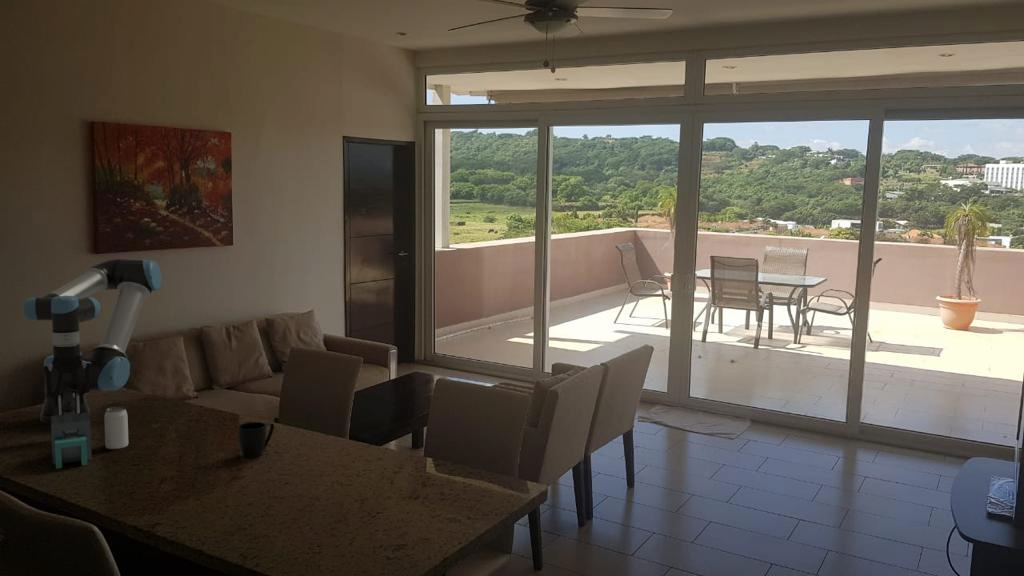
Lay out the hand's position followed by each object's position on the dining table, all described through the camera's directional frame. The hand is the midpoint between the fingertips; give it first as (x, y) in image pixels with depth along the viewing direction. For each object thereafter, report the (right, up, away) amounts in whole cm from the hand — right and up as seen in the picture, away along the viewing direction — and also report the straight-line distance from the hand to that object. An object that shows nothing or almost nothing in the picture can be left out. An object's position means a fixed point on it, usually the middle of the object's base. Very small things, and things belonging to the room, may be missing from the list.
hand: (69, 415), depth 254 cm
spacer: (+15, -10, -25) cm, 30 cm away
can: (+19, -9, -7) cm, 22 cm away
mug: (+65, -10, -12) cm, 67 cm away
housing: (+11, -10, -18) cm, 23 cm away
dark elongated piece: (+6, -2, -10) cm, 12 cm away
